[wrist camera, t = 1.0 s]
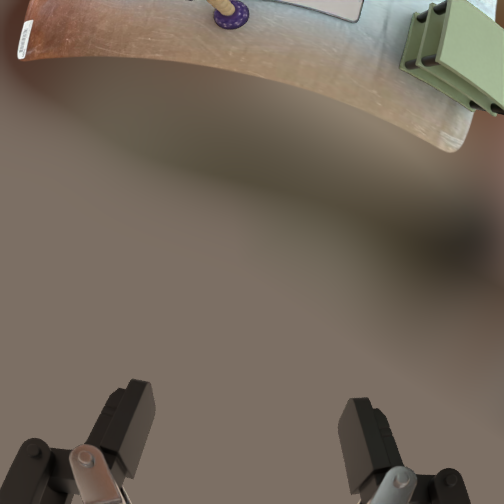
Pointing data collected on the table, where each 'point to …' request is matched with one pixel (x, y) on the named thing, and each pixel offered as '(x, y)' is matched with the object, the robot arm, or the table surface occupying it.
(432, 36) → the shelf
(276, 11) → the table surface
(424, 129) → the table surface
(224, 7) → the toy lamp
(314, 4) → the smartphone
